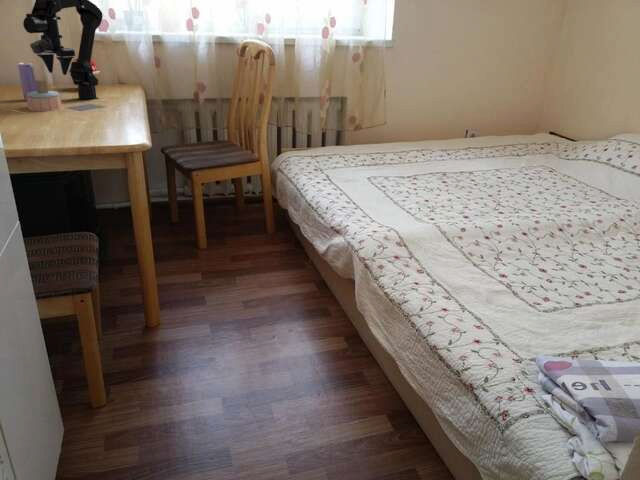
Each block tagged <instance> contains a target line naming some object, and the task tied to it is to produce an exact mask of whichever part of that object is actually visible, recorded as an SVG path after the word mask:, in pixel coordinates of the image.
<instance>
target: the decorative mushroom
mask: <svg viewBox="0 0 640 480" xmlns="http://www.w3.org/2000/svg"><path fill="white" fill-rule="evenodd" d="M77 59H78V57H76V58H75V59H74V60H73V61H72V62H76V61H77ZM90 64H91V66H92V68H93V75H99V74H100V70H99V69H98V68H97V66H96V63H95V62H94V61H93V60H92V59H91V61H90ZM69 68H70V69H71V67H69ZM70 69H68V71H67V73H68V74H69V75H71V71H70ZM76 86H77V88H78V85H76Z"/></svg>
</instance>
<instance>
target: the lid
mask: <svg viewBox="0 0 640 480" xmlns="http://www.w3.org/2000/svg"><path fill="white" fill-rule="evenodd" d="M35 83H36V89H37V91H34V92H29V93H27V96H28V97H29V98H53V97H57V96H59V95H60V94H59V92H58V91H56V90H49V89H48V85H47V84H48V83H47V80H46V79H36V80H35Z"/></svg>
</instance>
